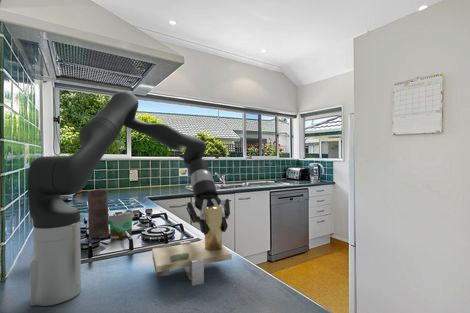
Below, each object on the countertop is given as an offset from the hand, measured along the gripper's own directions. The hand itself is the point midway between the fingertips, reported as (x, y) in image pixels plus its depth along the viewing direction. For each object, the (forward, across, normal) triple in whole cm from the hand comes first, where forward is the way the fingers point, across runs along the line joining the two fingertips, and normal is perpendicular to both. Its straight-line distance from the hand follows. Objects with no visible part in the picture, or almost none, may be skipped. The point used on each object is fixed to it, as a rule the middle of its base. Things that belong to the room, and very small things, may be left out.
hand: (215, 231), depth 74 cm
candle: (-26, +34, -42) cm, 60 cm away
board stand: (+7, +7, -9) cm, 13 cm away
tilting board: (+4, +7, -7) cm, 11 cm away
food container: (-23, +25, -39) cm, 52 cm away
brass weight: (+2, 0, -5) cm, 6 cm away
